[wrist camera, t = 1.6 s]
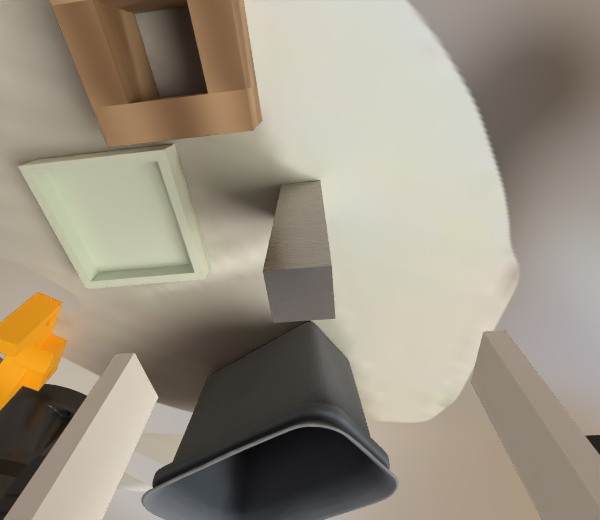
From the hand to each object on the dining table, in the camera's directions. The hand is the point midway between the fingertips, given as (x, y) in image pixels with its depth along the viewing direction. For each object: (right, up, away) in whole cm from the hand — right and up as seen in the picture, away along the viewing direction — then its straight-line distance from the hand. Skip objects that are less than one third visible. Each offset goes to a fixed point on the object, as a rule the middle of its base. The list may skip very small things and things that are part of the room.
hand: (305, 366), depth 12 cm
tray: (-16, +8, +17) cm, 25 cm away
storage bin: (-2, -10, +28) cm, 30 cm away
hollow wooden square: (-9, +19, +11) cm, 23 cm away
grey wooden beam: (0, +9, +16) cm, 19 cm away
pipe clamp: (-30, -5, +25) cm, 40 cm away
